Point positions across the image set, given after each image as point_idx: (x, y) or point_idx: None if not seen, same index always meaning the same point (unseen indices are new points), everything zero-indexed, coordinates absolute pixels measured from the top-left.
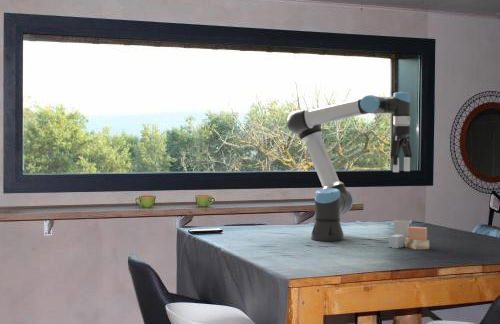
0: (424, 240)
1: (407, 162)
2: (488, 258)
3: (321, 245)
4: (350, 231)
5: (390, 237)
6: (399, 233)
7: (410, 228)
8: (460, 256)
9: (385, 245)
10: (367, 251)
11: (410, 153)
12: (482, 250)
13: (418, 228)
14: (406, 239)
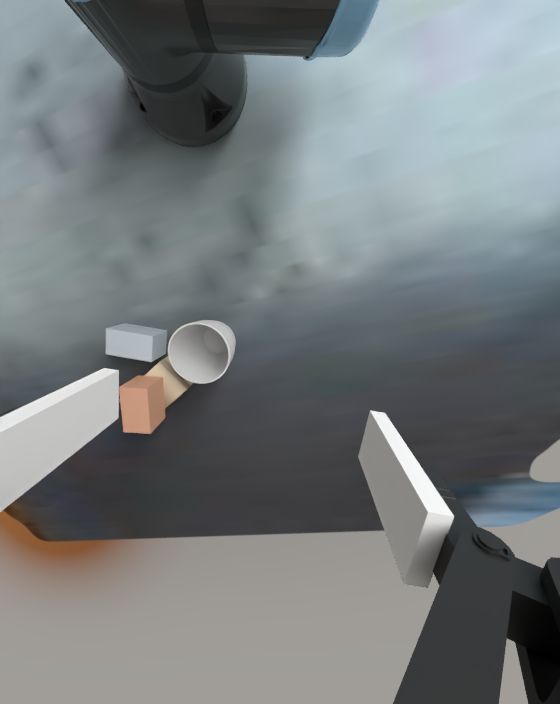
0: None
1: (386, 501)
2: (97, 529)
3: (53, 120)
4: (432, 89)
5: (107, 332)
6: (186, 341)
7: (121, 392)
8: (90, 485)
9: (154, 306)
10: (34, 288)
11: (523, 666)
12: (192, 515)
13: (122, 414)
14: (154, 366)
